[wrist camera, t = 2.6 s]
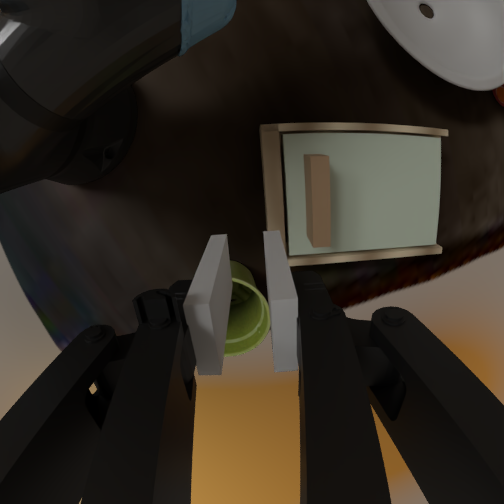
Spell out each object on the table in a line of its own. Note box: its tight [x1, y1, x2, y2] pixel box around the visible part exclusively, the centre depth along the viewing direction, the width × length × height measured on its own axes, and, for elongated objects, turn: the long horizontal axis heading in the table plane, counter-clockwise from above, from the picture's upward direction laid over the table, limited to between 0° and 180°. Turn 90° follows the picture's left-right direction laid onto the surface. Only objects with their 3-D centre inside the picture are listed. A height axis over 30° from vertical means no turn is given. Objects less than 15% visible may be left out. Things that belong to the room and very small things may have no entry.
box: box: [259, 123, 448, 266], centre depth 31 cm, size 20×14×6 cm
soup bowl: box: [366, 0, 504, 91], centre depth 22 cm, size 24×24×7 cm
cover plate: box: [282, 133, 441, 256], centre depth 28 cm, size 17×12×5 cm
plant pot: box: [224, 260, 270, 357], centre depth 34 cm, size 9×9×9 cm
